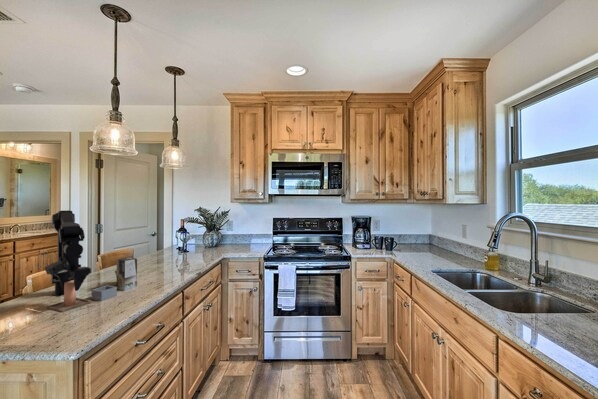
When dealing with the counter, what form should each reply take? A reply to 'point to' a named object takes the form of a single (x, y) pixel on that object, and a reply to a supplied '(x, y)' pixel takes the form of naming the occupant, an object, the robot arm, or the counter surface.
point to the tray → (62, 308)
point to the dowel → (69, 294)
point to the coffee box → (126, 273)
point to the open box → (104, 293)
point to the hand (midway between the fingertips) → (70, 289)
